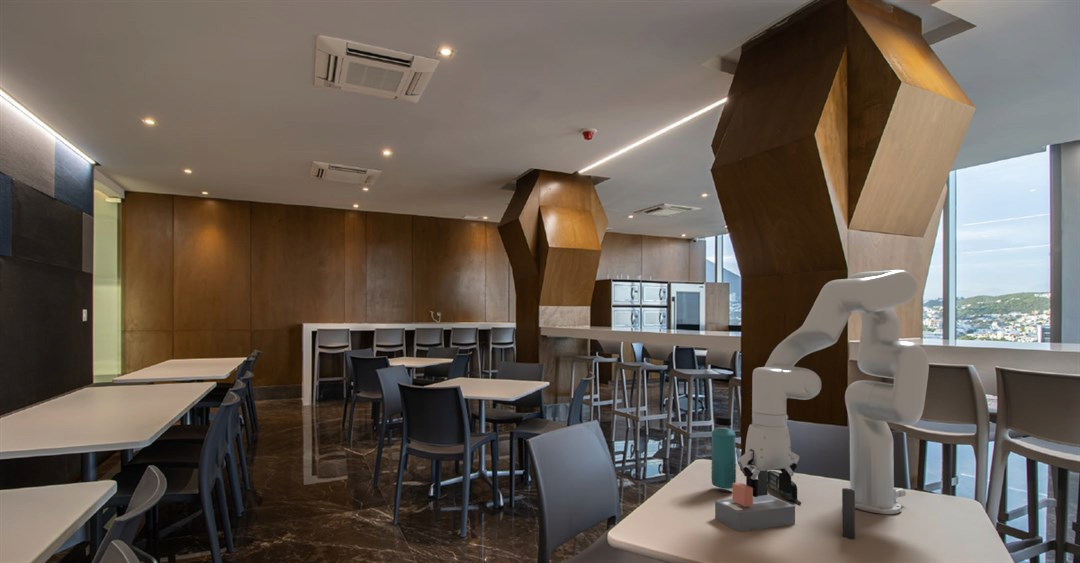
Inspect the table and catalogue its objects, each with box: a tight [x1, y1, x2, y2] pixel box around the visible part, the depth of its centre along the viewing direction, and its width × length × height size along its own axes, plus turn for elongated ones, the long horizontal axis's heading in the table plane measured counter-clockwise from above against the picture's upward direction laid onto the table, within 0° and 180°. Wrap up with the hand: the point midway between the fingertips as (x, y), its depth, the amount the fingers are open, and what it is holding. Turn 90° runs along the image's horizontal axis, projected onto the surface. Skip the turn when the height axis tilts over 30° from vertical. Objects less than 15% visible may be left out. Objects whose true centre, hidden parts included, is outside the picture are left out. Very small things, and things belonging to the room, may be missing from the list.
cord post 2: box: [841, 487, 856, 540], centre depth 117 cm, size 2×2×10 cm
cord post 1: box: [757, 470, 769, 496], centre depth 142 cm, size 2×2×10 cm
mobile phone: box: [768, 470, 802, 505], centre depth 144 cm, size 5×3×15 cm
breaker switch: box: [731, 481, 754, 507], centre depth 124 cm, size 2×4×4 cm, turn 19°
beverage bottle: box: [710, 415, 737, 490], centre depth 146 cm, size 6×7×20 cm
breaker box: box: [714, 494, 796, 532], centre depth 125 cm, size 16×8×4 cm, turn 109°
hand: (768, 493), depth 126 cm, fingers open, 9 cm apart
